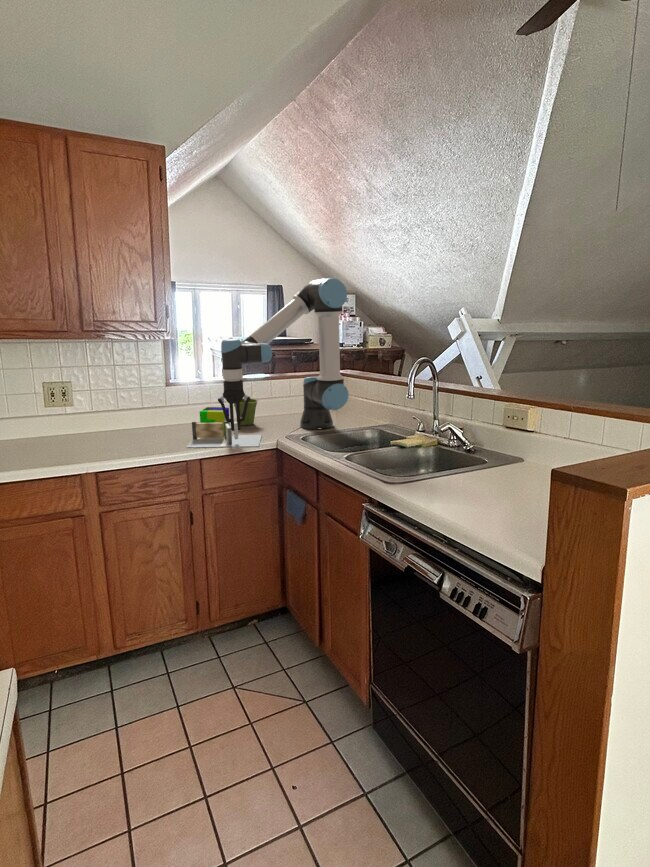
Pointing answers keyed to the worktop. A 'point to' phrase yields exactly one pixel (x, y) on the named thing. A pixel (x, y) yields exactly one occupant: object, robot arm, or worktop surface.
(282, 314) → the robot arm
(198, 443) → the card
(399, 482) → the worktop surface
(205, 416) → the puzzle toy
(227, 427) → the fence panel
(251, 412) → the plant pot
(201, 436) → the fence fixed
